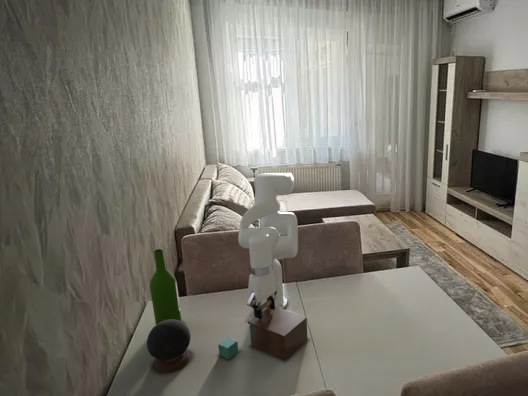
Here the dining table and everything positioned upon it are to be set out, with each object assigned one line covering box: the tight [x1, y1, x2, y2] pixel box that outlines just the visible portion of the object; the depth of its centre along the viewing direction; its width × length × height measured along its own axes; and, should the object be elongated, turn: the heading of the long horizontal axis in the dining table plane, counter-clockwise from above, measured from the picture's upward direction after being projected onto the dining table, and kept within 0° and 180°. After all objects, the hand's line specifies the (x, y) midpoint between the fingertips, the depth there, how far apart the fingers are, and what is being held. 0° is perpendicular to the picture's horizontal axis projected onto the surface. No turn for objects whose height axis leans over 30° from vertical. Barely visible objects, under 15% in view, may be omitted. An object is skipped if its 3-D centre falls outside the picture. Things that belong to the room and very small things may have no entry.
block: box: [217, 336, 239, 360], centre depth 134 cm, size 4×4×4 cm
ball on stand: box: [146, 319, 192, 373], centre depth 129 cm, size 13×13×15 cm
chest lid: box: [247, 300, 308, 338], centre depth 137 cm, size 17×13×5 cm
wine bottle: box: [149, 248, 183, 326], centre depth 145 cm, size 9×9×32 cm
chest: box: [249, 318, 308, 361], centre depth 139 cm, size 16×13×9 cm
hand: (264, 312), depth 140 cm, fingers closed on chest lid, 6 cm apart
